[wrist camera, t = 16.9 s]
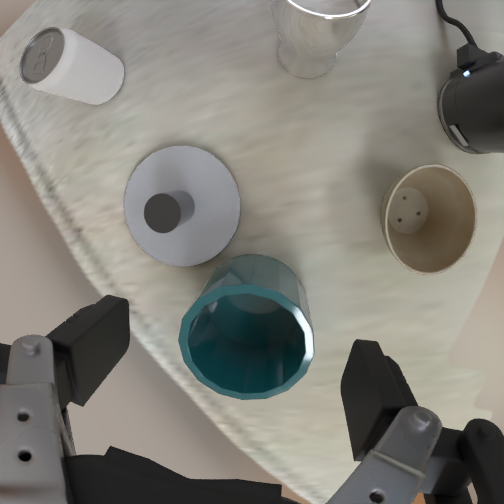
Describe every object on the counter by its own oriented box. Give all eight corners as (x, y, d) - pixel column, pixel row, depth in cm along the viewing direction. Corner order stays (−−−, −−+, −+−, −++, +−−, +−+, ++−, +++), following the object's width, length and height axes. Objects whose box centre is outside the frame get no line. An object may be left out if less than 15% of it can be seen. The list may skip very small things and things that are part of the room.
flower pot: (346, 225, 33) (363, 240, 26) (392, 146, 30) (420, 141, 23) (415, 271, 33) (442, 293, 26) (457, 198, 31) (492, 205, 24)
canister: (194, 260, 35) (166, 291, 26) (301, 248, 34) (309, 277, 25) (212, 351, 38) (195, 400, 29) (309, 344, 36) (316, 394, 27)
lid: (120, 159, 33) (92, 158, 27) (232, 136, 32) (221, 128, 26) (140, 269, 36) (116, 287, 30) (249, 257, 34) (242, 275, 28)
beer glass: (314, 95, 30) (341, 41, 15) (260, 58, 29) (246, -15, 15) (351, 51, 28) (395, -17, 14) (298, 16, 27) (308, -67, 13)
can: (132, 55, 30) (77, 19, 18) (118, 107, 31) (55, 87, 20) (89, 56, 30) (28, 27, 18) (75, 104, 32) (9, 89, 20)
